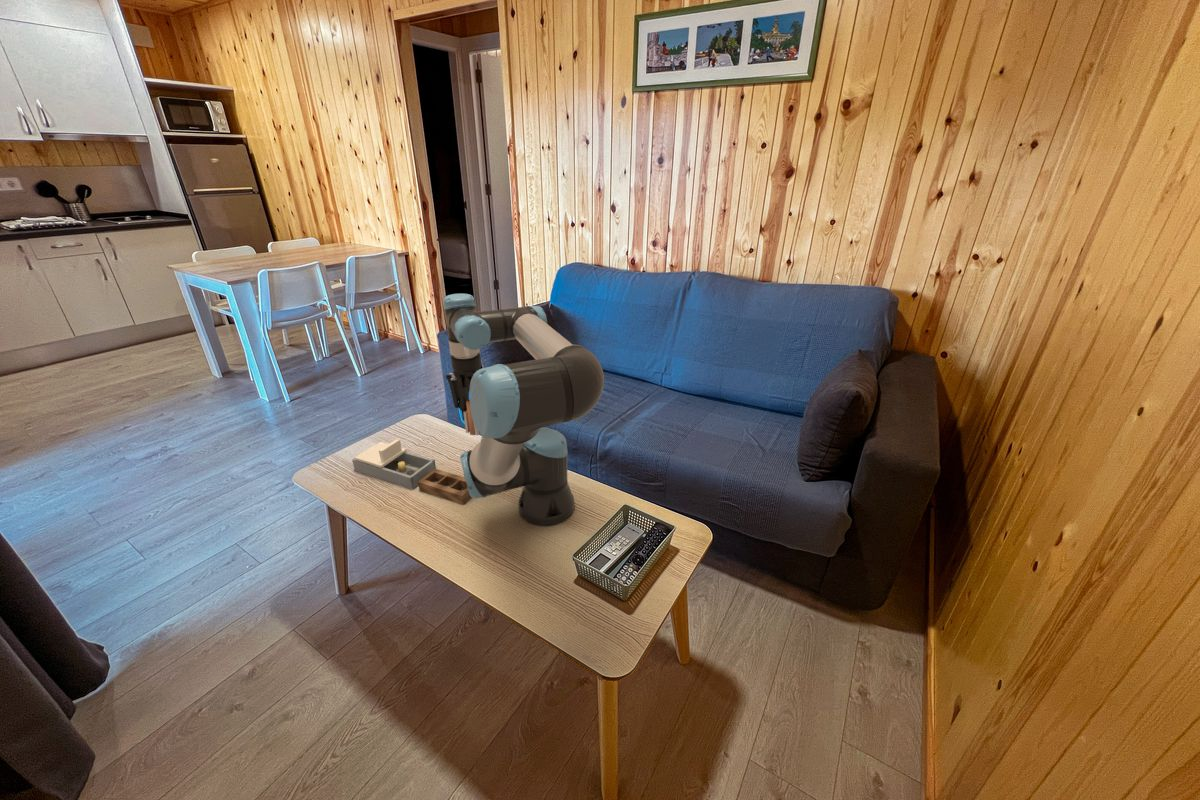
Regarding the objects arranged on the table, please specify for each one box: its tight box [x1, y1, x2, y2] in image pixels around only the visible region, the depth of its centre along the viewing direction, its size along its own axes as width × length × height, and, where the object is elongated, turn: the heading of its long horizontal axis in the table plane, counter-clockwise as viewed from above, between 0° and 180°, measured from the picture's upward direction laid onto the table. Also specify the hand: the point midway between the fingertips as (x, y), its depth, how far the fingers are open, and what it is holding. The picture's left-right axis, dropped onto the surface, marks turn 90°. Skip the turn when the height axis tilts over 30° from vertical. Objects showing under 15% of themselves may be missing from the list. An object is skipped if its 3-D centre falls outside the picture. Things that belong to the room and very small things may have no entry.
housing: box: [351, 451, 437, 490], centre depth 140 cm, size 22×10×4 cm, turn 67°
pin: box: [466, 399, 476, 436], centre depth 129 cm, size 3×3×10 cm
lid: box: [353, 438, 408, 468], centre depth 139 cm, size 10×10×5 cm
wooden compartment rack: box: [417, 468, 472, 505], centre depth 132 cm, size 15×7×3 cm, turn 67°
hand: (474, 431), depth 131 cm, fingers closed on pin, 2 cm apart
